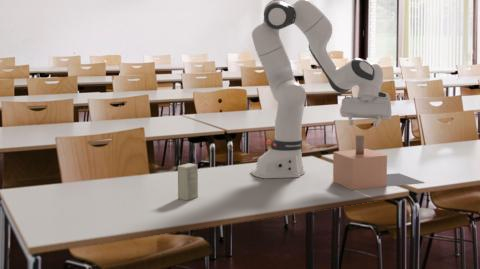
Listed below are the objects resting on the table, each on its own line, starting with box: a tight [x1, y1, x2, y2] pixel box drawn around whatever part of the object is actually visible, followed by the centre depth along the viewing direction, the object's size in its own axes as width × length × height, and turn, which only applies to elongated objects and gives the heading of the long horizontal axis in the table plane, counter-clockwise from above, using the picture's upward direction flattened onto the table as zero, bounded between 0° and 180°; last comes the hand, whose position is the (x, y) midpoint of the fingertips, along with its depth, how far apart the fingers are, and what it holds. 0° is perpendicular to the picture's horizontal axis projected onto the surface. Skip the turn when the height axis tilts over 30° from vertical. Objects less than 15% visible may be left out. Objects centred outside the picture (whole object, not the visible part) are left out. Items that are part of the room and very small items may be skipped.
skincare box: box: [177, 162, 199, 201], centre depth 244 cm, size 6×4×12 cm
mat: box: [385, 172, 425, 188], centre depth 273 cm, size 18×18×1 cm
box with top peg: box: [332, 134, 388, 191], centre depth 265 cm, size 15×15×19 cm
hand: (363, 125), depth 267 cm, fingers open, 8 cm apart
